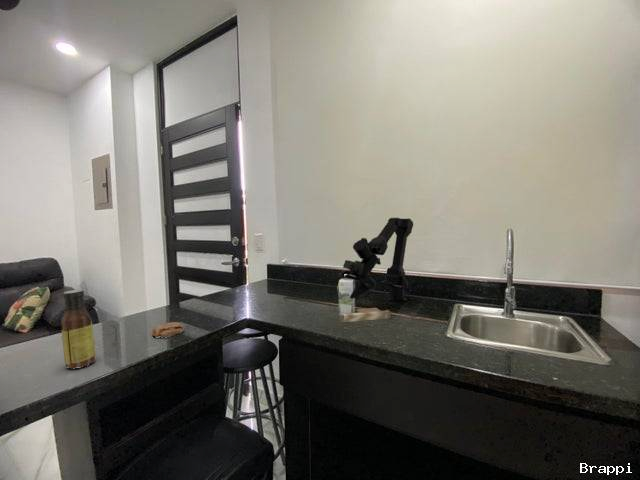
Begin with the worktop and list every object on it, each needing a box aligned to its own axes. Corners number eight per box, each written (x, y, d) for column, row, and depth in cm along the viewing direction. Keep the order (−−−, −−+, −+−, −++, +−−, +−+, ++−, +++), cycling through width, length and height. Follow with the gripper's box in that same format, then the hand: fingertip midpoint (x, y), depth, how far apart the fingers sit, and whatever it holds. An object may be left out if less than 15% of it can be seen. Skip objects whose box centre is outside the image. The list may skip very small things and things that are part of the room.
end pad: (364, 317, 112) (364, 316, 112) (356, 310, 120) (356, 309, 120) (385, 315, 114) (385, 314, 114) (376, 309, 123) (376, 307, 123)
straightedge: (341, 322, 106) (341, 315, 106) (339, 320, 108) (339, 314, 108) (390, 318, 111) (390, 311, 111) (387, 316, 113) (387, 309, 113)
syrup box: (355, 313, 117) (355, 278, 116) (353, 318, 111) (352, 281, 110) (341, 312, 118) (341, 277, 118) (338, 317, 113) (338, 280, 112)
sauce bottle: (101, 358, 79) (97, 287, 78) (83, 370, 73) (78, 293, 72) (77, 359, 79) (72, 288, 78) (57, 371, 73) (52, 294, 72)
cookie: (185, 326, 105) (185, 318, 105) (183, 337, 95) (183, 328, 95) (154, 330, 101) (154, 321, 101) (149, 341, 91) (148, 332, 91)
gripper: (342, 251, 123) (319, 279, 119) (370, 255, 107) (345, 287, 102) (356, 267, 128) (336, 295, 123) (385, 273, 112) (363, 306, 107)
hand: (344, 295), depth 114 cm, fingers open, 9 cm apart
